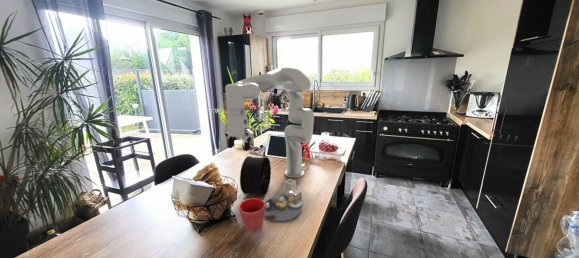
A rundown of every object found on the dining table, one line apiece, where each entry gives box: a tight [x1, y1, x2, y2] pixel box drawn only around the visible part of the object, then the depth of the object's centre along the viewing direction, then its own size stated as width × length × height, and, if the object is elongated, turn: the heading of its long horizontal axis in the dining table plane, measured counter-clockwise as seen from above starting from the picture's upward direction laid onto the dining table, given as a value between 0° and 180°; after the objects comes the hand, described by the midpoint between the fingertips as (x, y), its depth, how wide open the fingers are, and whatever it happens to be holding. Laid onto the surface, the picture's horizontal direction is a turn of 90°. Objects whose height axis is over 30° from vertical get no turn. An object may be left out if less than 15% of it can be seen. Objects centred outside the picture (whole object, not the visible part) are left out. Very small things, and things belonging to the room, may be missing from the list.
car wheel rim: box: [239, 155, 272, 197], centre depth 121 cm, size 20×10×20 cm, turn 168°
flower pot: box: [238, 197, 265, 231], centre depth 96 cm, size 11×11×10 cm
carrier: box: [264, 188, 304, 223], centre depth 107 cm, size 19×19×8 cm
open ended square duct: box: [283, 178, 297, 197], centre depth 121 cm, size 7×7×7 cm
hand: (239, 148), depth 105 cm, fingers open, 9 cm apart
